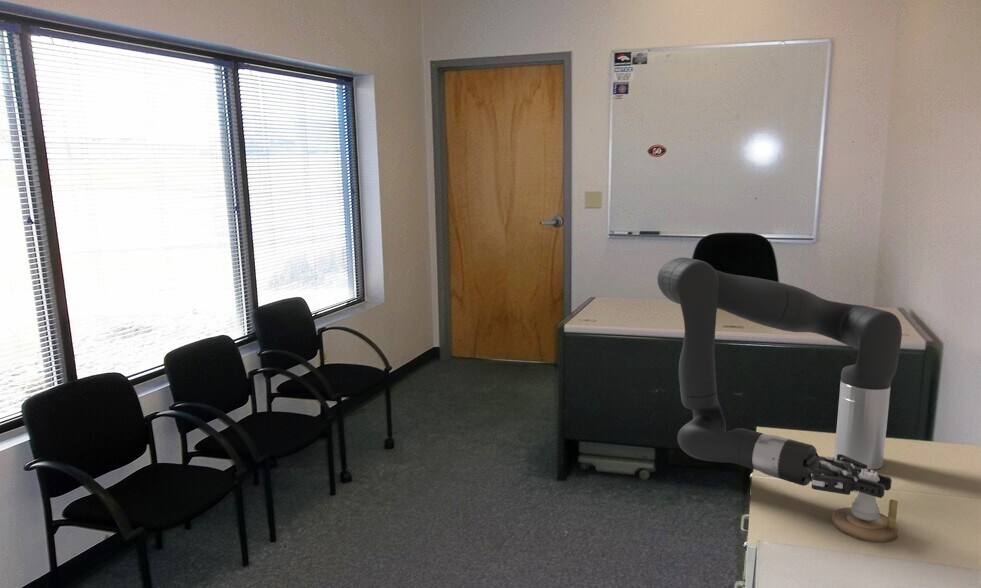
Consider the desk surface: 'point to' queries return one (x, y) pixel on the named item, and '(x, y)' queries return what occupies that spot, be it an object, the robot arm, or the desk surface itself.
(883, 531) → the handwheel with crank handle
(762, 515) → the desk surface
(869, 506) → the rook chess piece
